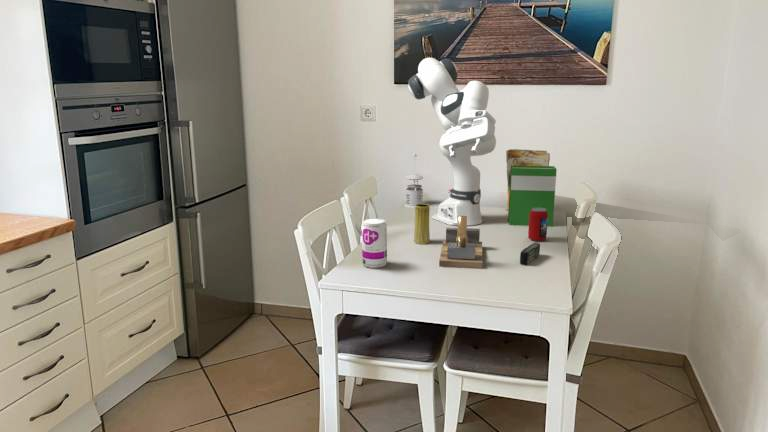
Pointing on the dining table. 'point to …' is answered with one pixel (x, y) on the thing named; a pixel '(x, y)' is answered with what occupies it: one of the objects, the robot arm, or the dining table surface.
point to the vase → (422, 224)
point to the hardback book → (531, 192)
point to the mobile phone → (529, 253)
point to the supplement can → (374, 243)
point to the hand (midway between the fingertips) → (463, 154)
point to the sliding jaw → (461, 243)
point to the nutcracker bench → (461, 261)
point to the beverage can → (538, 224)
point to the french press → (413, 195)
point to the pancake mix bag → (525, 161)
